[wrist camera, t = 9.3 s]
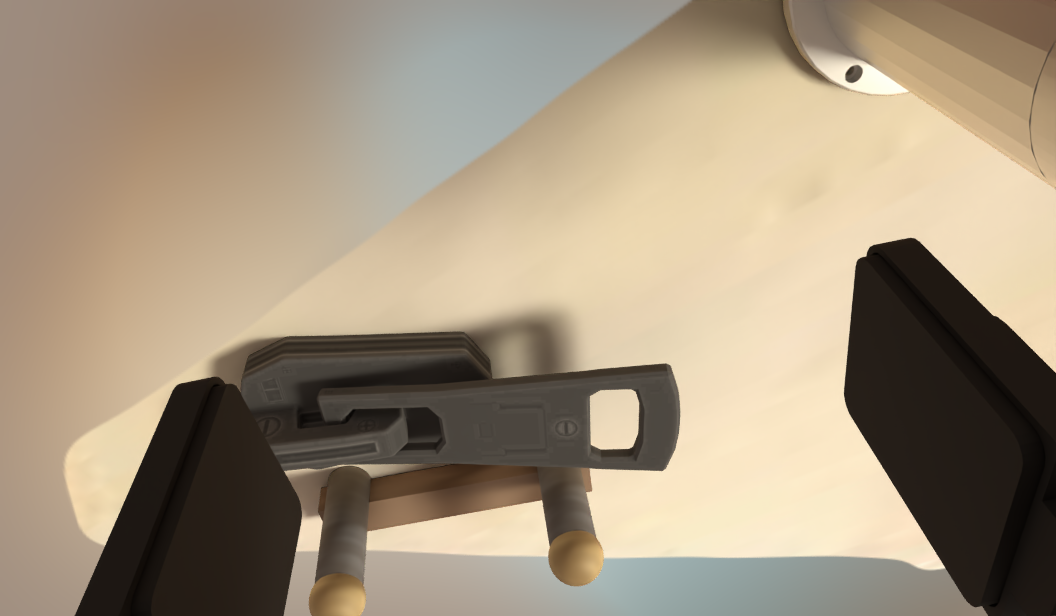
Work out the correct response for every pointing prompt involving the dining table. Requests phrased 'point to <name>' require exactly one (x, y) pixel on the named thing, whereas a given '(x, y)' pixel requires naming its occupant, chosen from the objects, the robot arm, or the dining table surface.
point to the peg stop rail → (442, 494)
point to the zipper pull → (442, 406)
